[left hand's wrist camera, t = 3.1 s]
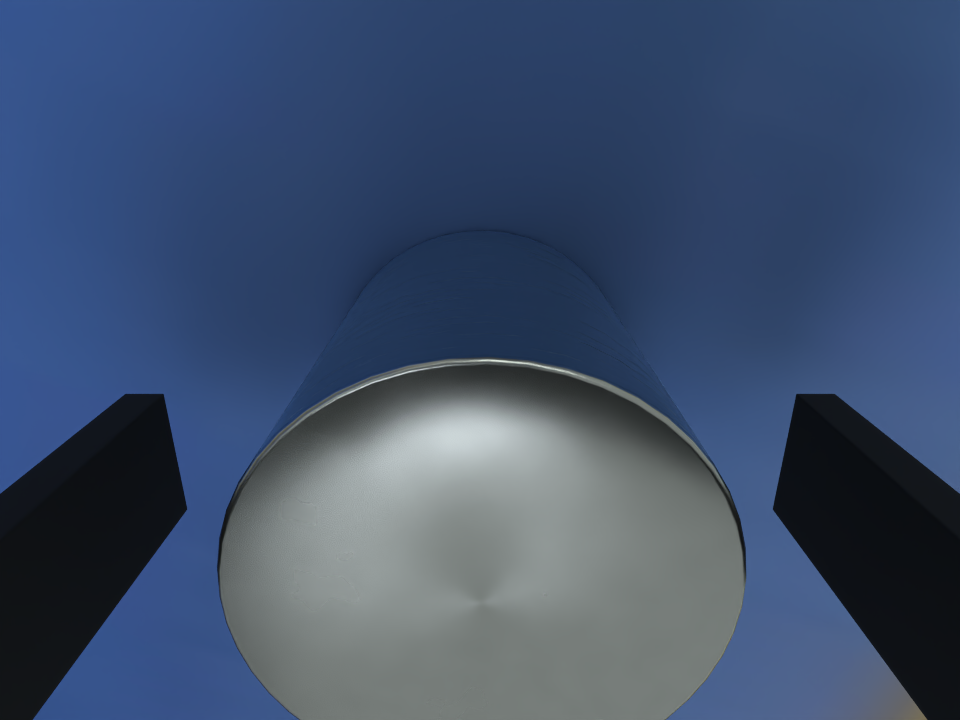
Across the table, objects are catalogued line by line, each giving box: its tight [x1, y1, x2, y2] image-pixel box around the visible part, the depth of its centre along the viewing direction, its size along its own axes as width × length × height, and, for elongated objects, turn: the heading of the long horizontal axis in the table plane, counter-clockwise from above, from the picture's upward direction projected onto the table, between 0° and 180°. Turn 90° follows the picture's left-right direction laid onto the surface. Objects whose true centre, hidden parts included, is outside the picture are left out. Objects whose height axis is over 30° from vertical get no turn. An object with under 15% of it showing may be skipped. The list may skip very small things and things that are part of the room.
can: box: [217, 230, 746, 720], centre depth 13 cm, size 8×8×8 cm
